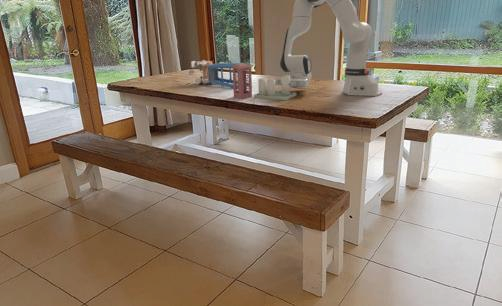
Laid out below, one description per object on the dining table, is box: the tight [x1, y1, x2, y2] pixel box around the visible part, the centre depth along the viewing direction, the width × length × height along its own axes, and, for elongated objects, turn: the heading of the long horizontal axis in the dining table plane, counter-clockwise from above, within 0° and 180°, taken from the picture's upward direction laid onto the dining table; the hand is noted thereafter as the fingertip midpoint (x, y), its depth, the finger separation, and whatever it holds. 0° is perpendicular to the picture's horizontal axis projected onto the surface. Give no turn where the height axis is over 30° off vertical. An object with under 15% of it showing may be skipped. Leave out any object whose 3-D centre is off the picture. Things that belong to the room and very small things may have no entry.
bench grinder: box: [188, 59, 250, 90], centre depth 267 cm, size 17×17×45 cm
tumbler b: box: [257, 78, 267, 96], centre depth 222 cm, size 5×5×10 cm
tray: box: [253, 90, 297, 101], centre depth 222 cm, size 20×14×2 cm
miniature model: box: [231, 62, 253, 100], centre depth 221 cm, size 9×9×20 cm
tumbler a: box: [266, 78, 276, 96], centre depth 219 cm, size 5×5×10 cm
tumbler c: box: [281, 74, 291, 95], centre depth 219 cm, size 5×5×10 cm
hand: (285, 84), depth 218 cm, fingers closed on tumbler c, 5 cm apart
